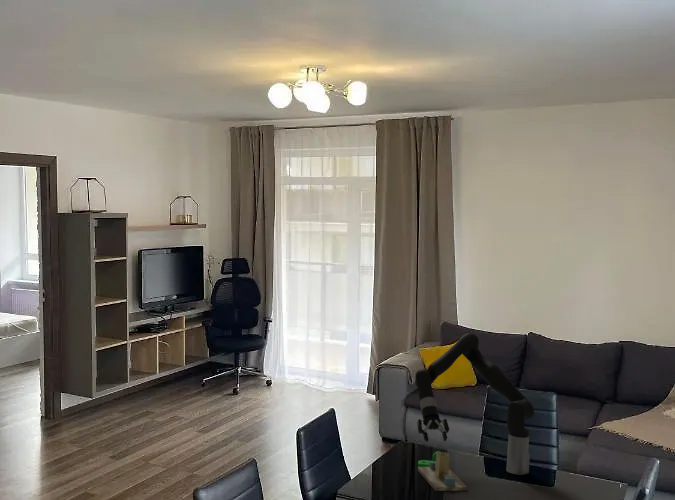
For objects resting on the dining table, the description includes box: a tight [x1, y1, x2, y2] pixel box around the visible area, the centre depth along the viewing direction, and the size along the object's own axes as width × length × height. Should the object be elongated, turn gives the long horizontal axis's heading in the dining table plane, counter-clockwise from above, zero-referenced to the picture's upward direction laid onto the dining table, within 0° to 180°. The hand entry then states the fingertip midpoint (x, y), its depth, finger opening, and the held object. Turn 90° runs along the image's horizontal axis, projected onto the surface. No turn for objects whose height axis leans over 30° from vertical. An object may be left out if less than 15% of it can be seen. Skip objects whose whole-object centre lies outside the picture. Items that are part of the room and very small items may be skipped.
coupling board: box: [417, 460, 468, 492], centre depth 298 cm, size 14×25×4 cm, turn 10°
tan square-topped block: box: [435, 451, 451, 478], centre depth 298 cm, size 4×4×10 cm
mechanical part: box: [417, 450, 441, 468], centre depth 315 cm, size 12×6×8 cm, turn 83°
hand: (436, 440), depth 307 cm, fingers open, 8 cm apart
